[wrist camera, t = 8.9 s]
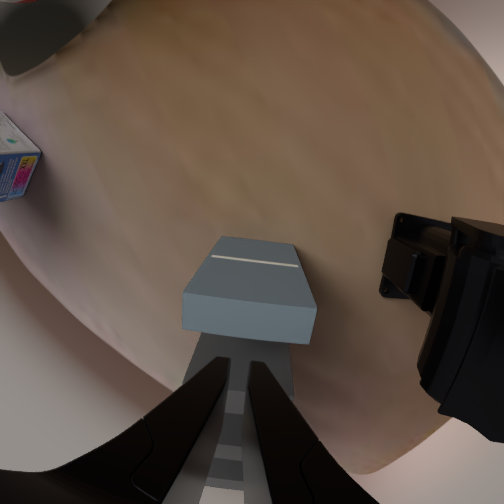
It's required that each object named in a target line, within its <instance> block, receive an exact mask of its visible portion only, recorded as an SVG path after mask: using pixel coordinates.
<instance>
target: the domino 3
mask: <svg viewBox="0 0 504 504" xmlns="http://www.w3.org/2000/svg"><path fill="white" fill-rule="evenodd" d="M216 356H223V357H229V358H231V367H230V378H229V386H228V393H227V400H226V406H225V412H226V413H233V414H242V415H243V411H244V402H245V393H246V384H247V377H248V369H249V363H250V361H251V360H256V361H264V362H265V363H266V364H267V366H268V367H269V369H270V370H271V372H272V373H273V375H274V376H275V378H276V379H277V381H278V382H279V384H280V385H281V387H282V388H283V389H284V391H285V392H286V394H287V395H288V397H289V398H290V400H291V401H292V402H293V399H294V389H293V380H292V371H291V362H290V353H289V345H288V343H286V342H275V341H265V340H256V339H247V338H239V337H232V336H224V335H217V334H210V333H204V332H202V333H201V335H200V338H199V341H198V343H197V346H196V348H195V351H194V354H193V356H192V359H191V361H190V364H189V367H188V369H187V372H186V374H185V377H184V380H183V382H182V383H183V384H184V383H185V382H187V381H188V380H189V379H190V378H191V377H192V376H194V375H195V374H196V373H197V372H198V371H199V370H201V369H202V368H203V367H204V366H205V365H206V364H208V363H209V362H210V361H211V360H212V359H213V358H214V357H216Z"/></svg>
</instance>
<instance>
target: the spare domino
mask: <svg viewBox="0 0 504 504" xmlns="http://www.w3.org/2000/svg"><path fill="white" fill-rule="evenodd" d="M316 312H317V306H316V303H315V301H314V298H313V295H312V293H311V290H310V287H309V285H308V282H307V279H306V277H305V274H304V272H303V269H302V266H301V264H300V261H299V259H298V256H297V253H296V251H295V248H294V246H293V244H285V243H277V242H268V241H260V240H252V239H243V238H235V237H226V236H221V238H220V239H219V240H218V242H217V243H216V245H215V246H214V248H213V249H212V250H211V252H210V253H209V255H208V256H207V258H206V259H205V260H204V262H203V263H202V265H201V266H200V268H199V269H198V270H197V272H196V273H195V275H194V276H193V278H192V279H191V281H190V282H189V284H188V285H187V287H186V288H185V289H184V291H183V297H182V329H185V330H191V331H197V332H204V333H210V334H217V335H224V336H232V337H239V338H247V339H256V340H265V341H275V342H286V343H297V344H309V342H310V338H311V334H312V330H313V325H314V321H315V317H316Z"/></svg>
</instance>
